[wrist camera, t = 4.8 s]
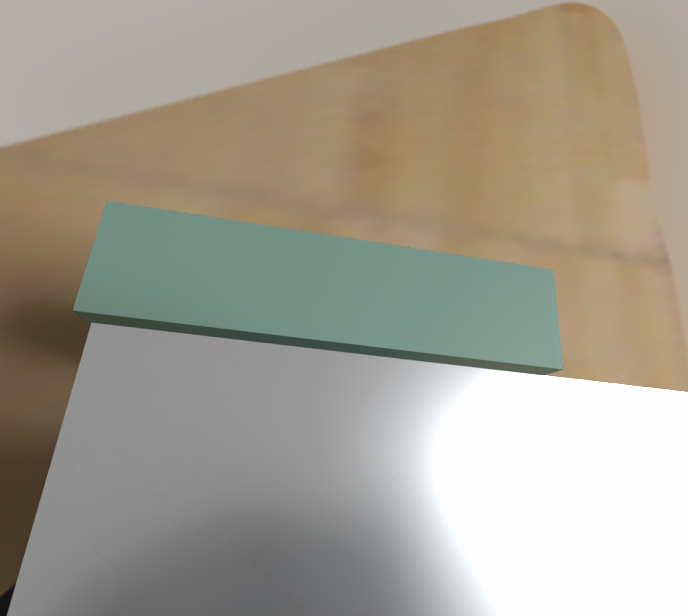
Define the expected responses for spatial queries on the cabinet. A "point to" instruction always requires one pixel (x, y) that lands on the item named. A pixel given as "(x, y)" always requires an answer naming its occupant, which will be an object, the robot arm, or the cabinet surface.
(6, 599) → the robot arm
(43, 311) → the cabinet surface
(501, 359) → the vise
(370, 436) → the gray upright column
